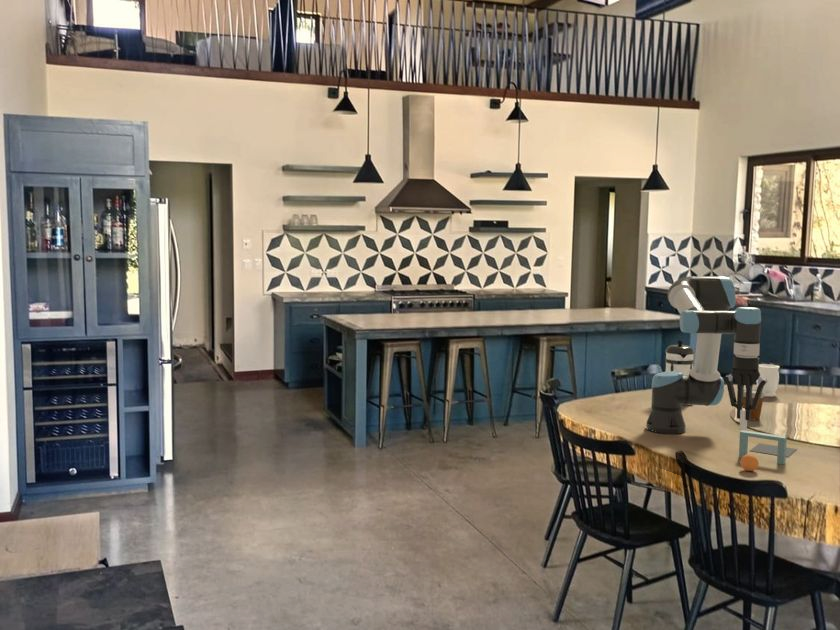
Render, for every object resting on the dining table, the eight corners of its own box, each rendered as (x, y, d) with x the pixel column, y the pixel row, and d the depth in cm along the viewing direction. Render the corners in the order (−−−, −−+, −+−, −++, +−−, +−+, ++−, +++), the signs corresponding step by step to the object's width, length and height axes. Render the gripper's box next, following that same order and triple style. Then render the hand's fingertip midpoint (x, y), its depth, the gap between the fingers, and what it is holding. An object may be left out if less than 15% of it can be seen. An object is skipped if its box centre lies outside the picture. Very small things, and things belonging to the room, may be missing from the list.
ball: (738, 471, 252) (738, 455, 252) (742, 467, 257) (743, 451, 256) (755, 474, 249) (756, 457, 248) (760, 470, 253) (760, 454, 253)
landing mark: (749, 451, 277) (749, 450, 277) (759, 443, 287) (759, 443, 287) (788, 457, 269) (788, 456, 269) (796, 449, 279) (796, 449, 279)
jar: (782, 397, 373) (783, 367, 372) (760, 397, 373) (762, 367, 372) (772, 393, 384) (773, 363, 382) (751, 393, 384) (752, 363, 382)
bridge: (738, 457, 269) (739, 431, 268) (741, 455, 271) (742, 430, 270) (783, 464, 260) (784, 438, 259) (785, 462, 262) (786, 436, 261)
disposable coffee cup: (738, 419, 326) (739, 392, 325) (740, 415, 334) (741, 388, 333) (762, 422, 321) (764, 394, 320) (764, 417, 330) (765, 390, 329)
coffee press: (702, 403, 358) (705, 340, 355) (681, 407, 349) (684, 342, 346) (671, 397, 372) (673, 336, 370) (650, 401, 363) (652, 338, 360)
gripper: (721, 355, 243) (718, 428, 245) (765, 359, 235) (761, 434, 237) (728, 353, 249) (725, 424, 251) (771, 356, 241) (768, 430, 243)
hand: (743, 429), depth 244 cm, fingers closed
